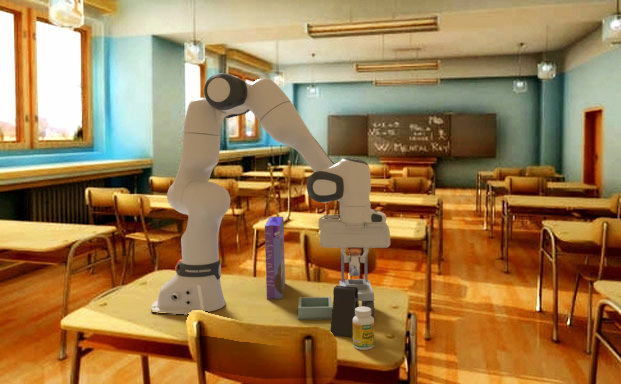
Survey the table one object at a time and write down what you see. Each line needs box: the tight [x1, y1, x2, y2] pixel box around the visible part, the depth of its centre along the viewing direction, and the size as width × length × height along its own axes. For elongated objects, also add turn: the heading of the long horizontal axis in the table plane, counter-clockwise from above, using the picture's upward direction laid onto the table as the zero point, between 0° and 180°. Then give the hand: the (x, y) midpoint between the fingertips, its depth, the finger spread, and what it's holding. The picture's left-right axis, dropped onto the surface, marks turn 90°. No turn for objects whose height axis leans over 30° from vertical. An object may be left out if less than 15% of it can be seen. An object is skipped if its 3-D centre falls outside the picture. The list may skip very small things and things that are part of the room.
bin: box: [297, 296, 333, 321], centre depth 158 cm, size 10×10×4 cm
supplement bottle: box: [352, 306, 375, 351], centre depth 134 cm, size 5×5×10 cm
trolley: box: [339, 250, 375, 319], centre depth 156 cm, size 9×14×20 cm, turn 0°
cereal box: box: [264, 216, 286, 300], centre depth 180 cm, size 17×5×24 cm, turn 179°
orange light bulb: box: [347, 248, 362, 277], centre depth 155 cm, size 4×4×8 cm
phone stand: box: [329, 285, 360, 338], centre depth 144 cm, size 9×6×12 cm, turn 157°
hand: (354, 262), depth 155 cm, fingers closed on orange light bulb, 3 cm apart
